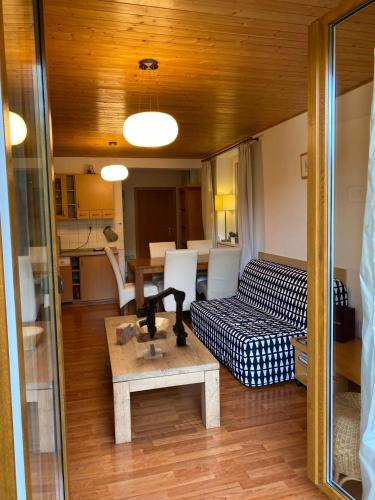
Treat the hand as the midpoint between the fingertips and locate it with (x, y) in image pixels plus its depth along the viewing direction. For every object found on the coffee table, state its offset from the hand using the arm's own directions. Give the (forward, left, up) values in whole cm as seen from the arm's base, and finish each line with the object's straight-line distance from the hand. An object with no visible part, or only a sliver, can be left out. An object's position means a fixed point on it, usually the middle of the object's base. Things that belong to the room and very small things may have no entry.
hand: (151, 338), depth 266 cm
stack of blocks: (+16, -34, -12) cm, 40 cm away
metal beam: (0, 0, -1) cm, 1 cm away
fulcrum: (0, +1, -11) cm, 11 cm away
